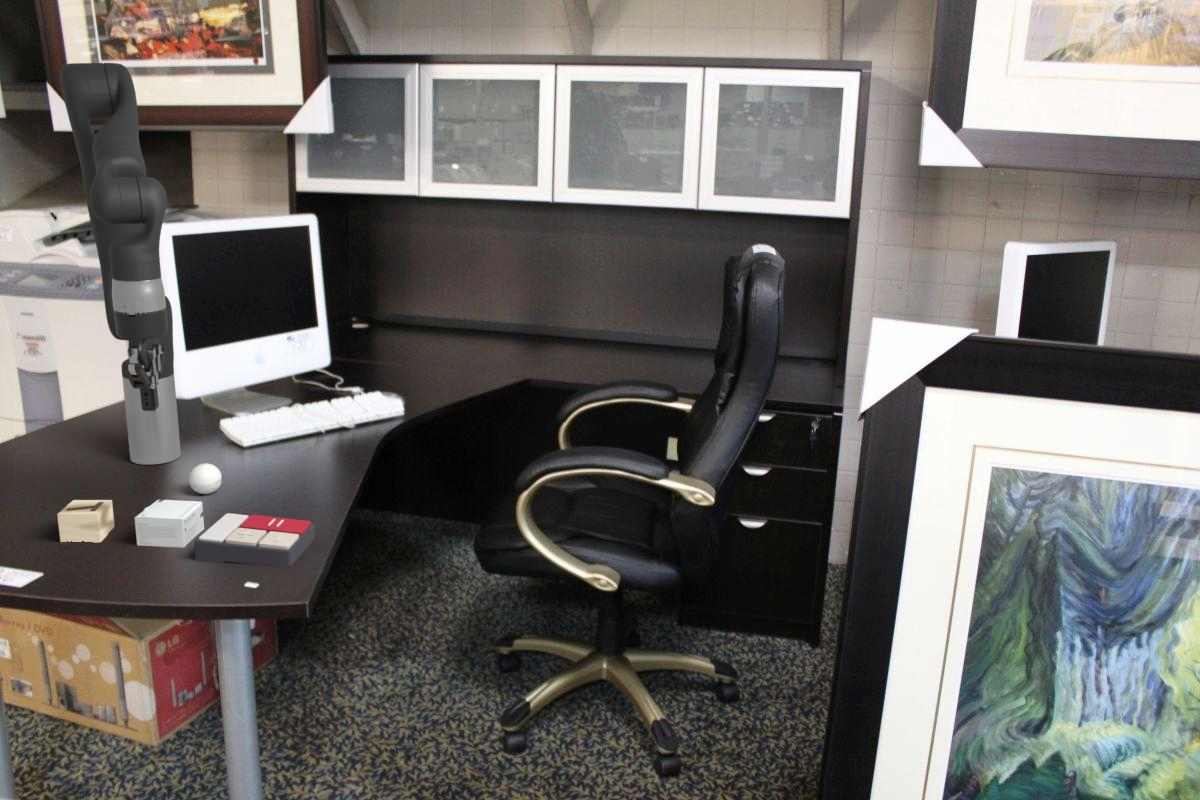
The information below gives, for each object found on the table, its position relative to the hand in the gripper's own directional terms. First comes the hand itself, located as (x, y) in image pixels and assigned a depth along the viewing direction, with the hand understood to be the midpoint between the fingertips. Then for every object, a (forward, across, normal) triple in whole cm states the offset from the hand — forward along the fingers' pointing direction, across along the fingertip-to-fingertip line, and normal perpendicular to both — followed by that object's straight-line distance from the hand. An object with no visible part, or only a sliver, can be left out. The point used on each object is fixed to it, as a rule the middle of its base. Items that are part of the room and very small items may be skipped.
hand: (150, 409), depth 154 cm
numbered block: (+20, +7, -9) cm, 23 cm away
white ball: (+20, -13, +4) cm, 25 cm away
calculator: (+20, +12, +19) cm, 30 cm away
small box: (+20, +8, +4) cm, 22 cm away
